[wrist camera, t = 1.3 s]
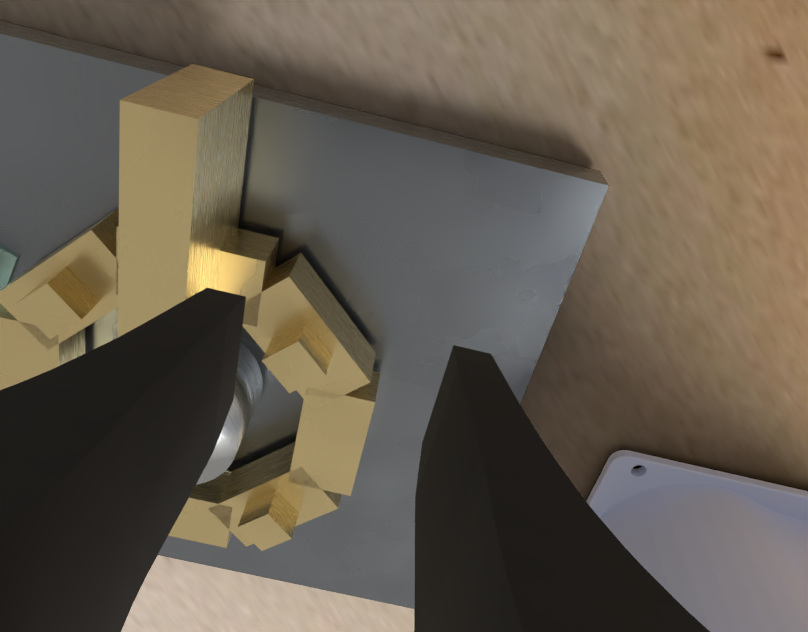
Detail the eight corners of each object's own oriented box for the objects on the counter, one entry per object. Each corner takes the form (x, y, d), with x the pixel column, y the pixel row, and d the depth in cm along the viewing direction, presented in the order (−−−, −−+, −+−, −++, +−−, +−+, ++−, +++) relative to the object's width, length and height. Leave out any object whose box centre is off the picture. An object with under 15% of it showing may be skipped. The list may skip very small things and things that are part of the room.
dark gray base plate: (600, 171, 18) (633, 227, 15) (436, 587, 27) (433, 682, 24) (-145, -16, 17) (-299, -3, 14) (-58, 482, 26) (-137, 566, 23)
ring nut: (338, 535, 24) (317, 637, 20) (31, 469, 23) (-44, 563, 20) (444, 126, 16) (440, 179, 13) (-6, 13, 16) (-136, 37, 12)
